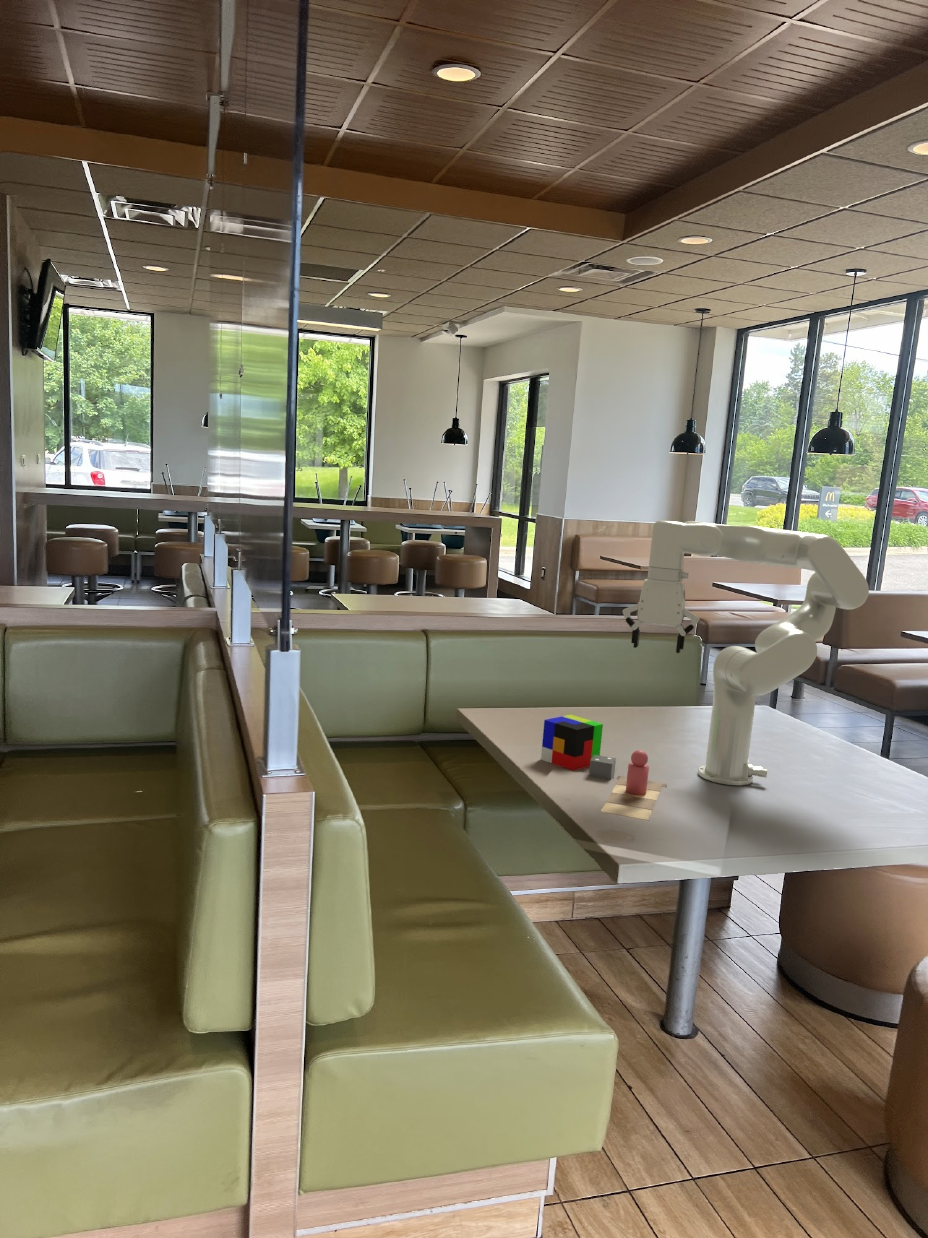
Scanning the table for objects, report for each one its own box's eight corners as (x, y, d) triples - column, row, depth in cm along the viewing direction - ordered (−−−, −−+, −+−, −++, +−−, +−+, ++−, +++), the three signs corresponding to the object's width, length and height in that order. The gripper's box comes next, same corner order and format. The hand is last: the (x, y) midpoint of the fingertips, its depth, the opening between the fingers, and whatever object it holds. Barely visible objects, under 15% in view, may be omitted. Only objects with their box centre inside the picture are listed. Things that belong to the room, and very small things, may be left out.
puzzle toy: (540, 759, 222) (544, 719, 220) (566, 753, 229) (570, 714, 227) (573, 771, 215) (577, 729, 213) (598, 764, 222) (602, 724, 220)
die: (613, 779, 211) (616, 757, 210) (610, 785, 206) (612, 763, 206) (592, 775, 213) (594, 754, 212) (588, 781, 208) (590, 760, 207)
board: (666, 788, 207) (666, 783, 207) (650, 827, 182) (651, 822, 181) (617, 780, 210) (618, 774, 210) (596, 817, 185) (596, 811, 185)
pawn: (647, 791, 200) (651, 749, 199) (644, 797, 196) (649, 754, 195) (627, 787, 202) (631, 746, 200) (624, 793, 197) (628, 751, 196)
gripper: (705, 578, 208) (696, 652, 211) (629, 570, 214) (621, 642, 216) (702, 580, 201) (693, 657, 204) (624, 572, 207) (616, 647, 209)
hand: (656, 649), depth 210 cm, fingers open, 9 cm apart
